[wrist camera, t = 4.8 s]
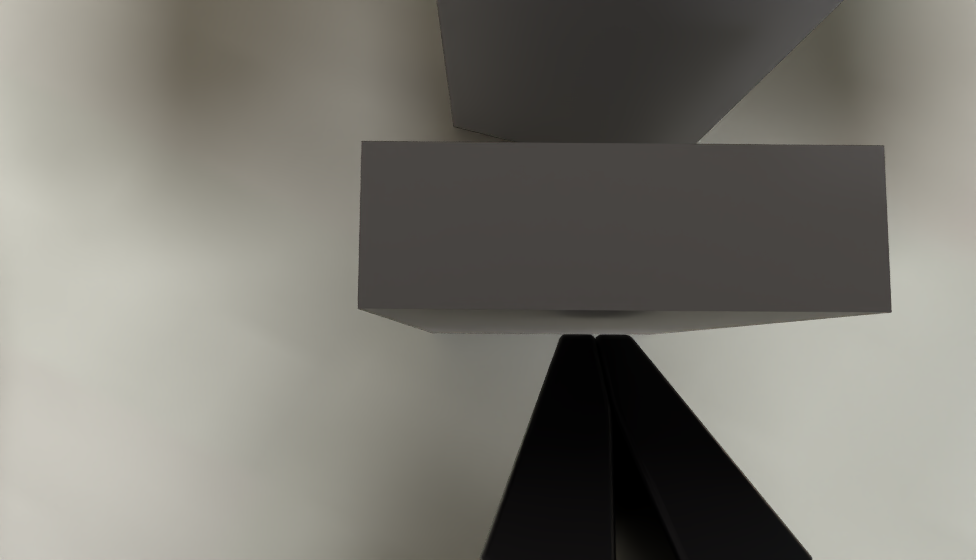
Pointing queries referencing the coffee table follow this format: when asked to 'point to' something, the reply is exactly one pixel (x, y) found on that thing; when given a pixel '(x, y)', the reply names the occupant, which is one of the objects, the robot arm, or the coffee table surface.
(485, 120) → the domino
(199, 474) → the coffee table surface
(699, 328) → the domino
